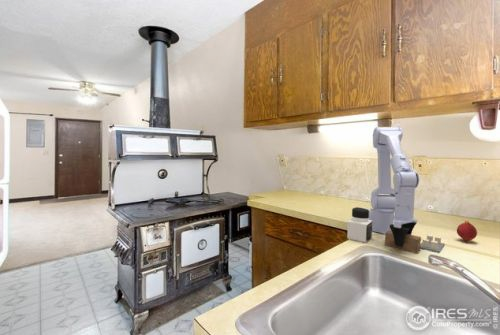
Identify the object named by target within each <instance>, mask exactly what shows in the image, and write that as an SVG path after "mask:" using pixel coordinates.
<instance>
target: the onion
mask: <svg viewBox="0 0 500 335" xmlns="http://www.w3.org/2000/svg"><path fill="white" fill-rule="evenodd" d="M456 234H457V235H458V236H459V238H461V239H462V240H463V241H464V242H469V241H472V240H474V239H476V237H477V236H478V230H477V228H476V227H475V226H474V225H473V224H471V222H469V220H465V221H464V222H462V223H460V224H459V225H458V226H457V228H456Z"/></svg>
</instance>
